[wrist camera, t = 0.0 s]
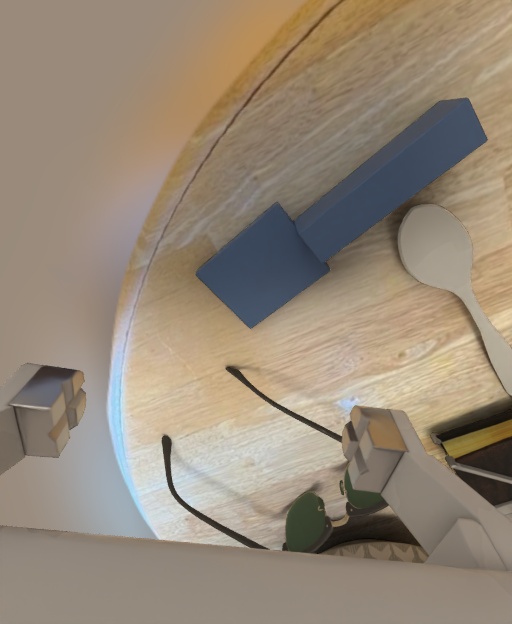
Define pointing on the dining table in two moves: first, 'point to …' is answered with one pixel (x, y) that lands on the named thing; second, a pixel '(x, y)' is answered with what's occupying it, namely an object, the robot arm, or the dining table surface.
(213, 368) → the dining table surface
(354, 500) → the sunglasses
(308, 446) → the dining table surface
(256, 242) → the blue stepped bar
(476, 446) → the book
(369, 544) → the planter
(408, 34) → the dining table surface
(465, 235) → the spoon
